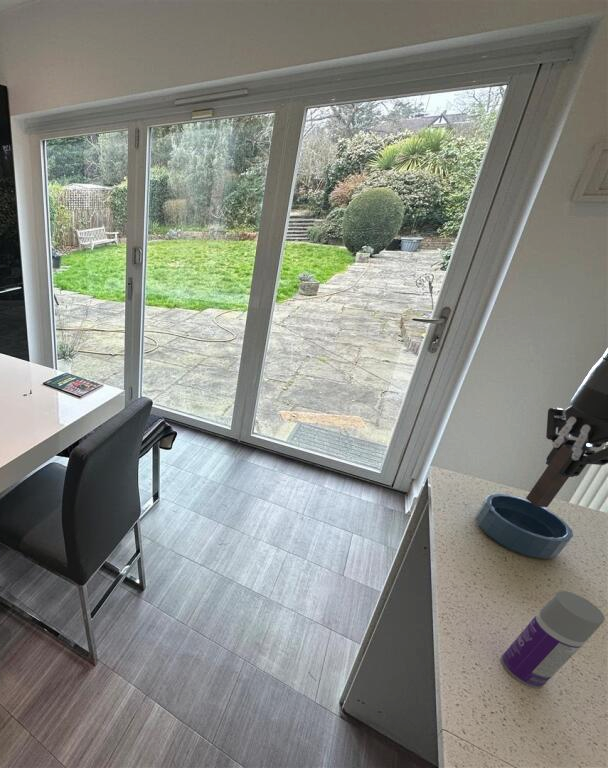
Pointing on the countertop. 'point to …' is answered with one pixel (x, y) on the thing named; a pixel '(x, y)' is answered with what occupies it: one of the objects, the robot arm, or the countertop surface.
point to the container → (551, 638)
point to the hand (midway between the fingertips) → (559, 470)
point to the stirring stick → (551, 478)
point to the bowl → (523, 526)
